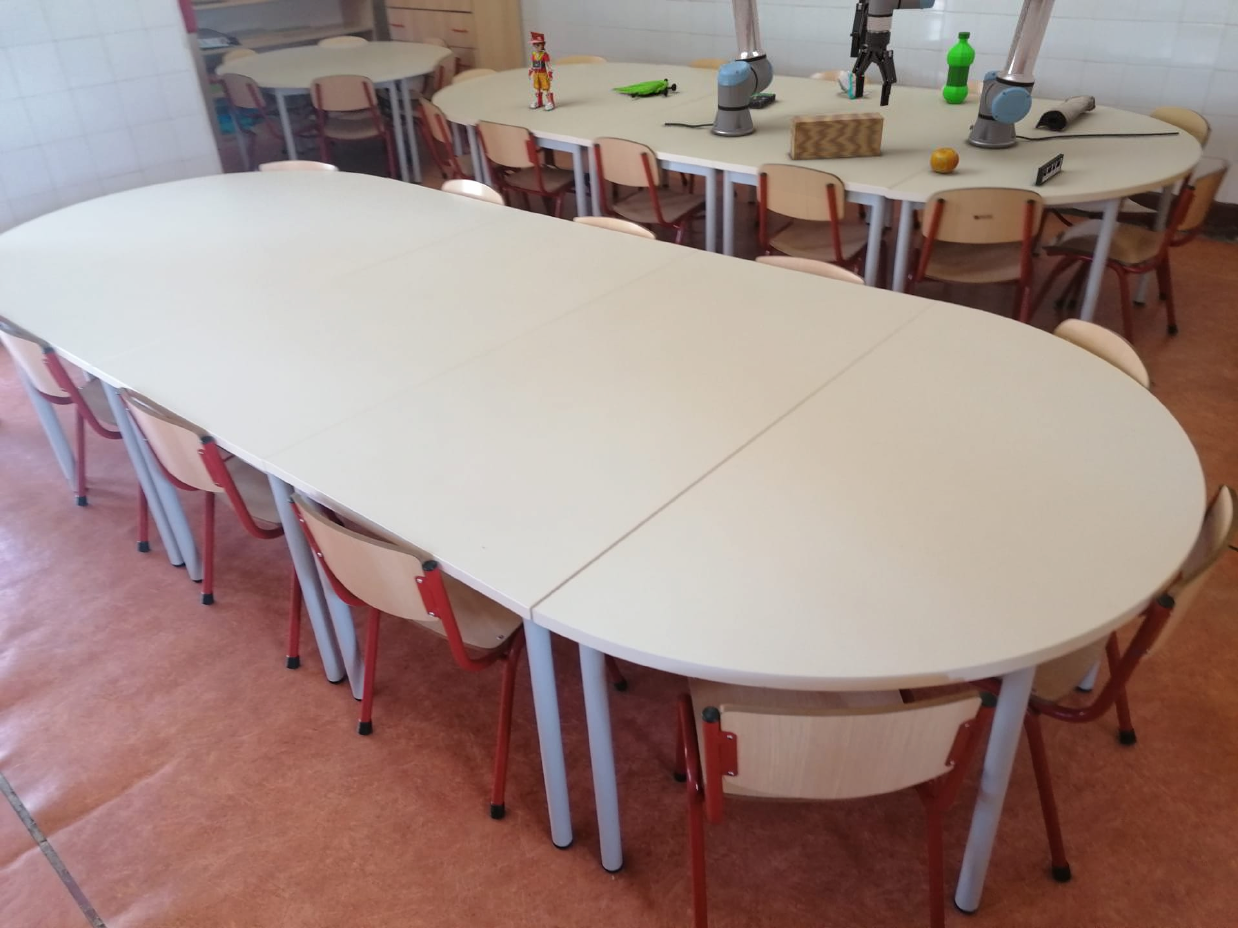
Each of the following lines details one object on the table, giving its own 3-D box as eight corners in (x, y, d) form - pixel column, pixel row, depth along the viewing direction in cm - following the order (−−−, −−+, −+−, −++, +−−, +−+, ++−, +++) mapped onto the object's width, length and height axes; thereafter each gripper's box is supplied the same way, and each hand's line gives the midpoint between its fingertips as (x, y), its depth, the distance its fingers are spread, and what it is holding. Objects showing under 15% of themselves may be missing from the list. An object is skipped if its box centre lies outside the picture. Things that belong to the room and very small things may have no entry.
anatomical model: (833, 70, 374) (857, 63, 373) (835, 95, 380) (859, 89, 379) (843, 78, 362) (868, 71, 361) (846, 104, 367) (870, 97, 367)
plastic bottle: (973, 101, 354) (984, 32, 339) (955, 106, 349) (966, 36, 335) (952, 97, 361) (962, 29, 346) (934, 102, 356) (944, 33, 342)
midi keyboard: (1039, 185, 269) (1043, 168, 266) (1035, 184, 270) (1038, 168, 267) (1060, 170, 279) (1064, 154, 277) (1056, 169, 280) (1060, 153, 277)
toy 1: (525, 109, 381) (517, 32, 364) (534, 104, 388) (527, 28, 371) (550, 110, 377) (543, 32, 360) (559, 105, 384) (553, 28, 367)
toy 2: (686, 85, 398) (631, 84, 414) (685, 72, 395) (629, 72, 411) (651, 104, 381) (596, 103, 397) (650, 92, 378) (594, 91, 394)
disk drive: (760, 109, 361) (775, 100, 371) (761, 102, 360) (776, 93, 370) (737, 107, 366) (752, 98, 376) (737, 100, 364) (753, 91, 374)
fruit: (924, 163, 281) (941, 140, 278) (925, 165, 289) (941, 143, 286) (946, 178, 280) (963, 155, 277) (947, 180, 288) (963, 158, 285)
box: (793, 159, 304) (795, 122, 297) (790, 153, 310) (792, 116, 303) (879, 155, 303) (884, 118, 296) (874, 149, 309) (878, 112, 302)
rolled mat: (1063, 100, 336) (1087, 83, 328) (1076, 121, 336) (1101, 104, 328) (1031, 122, 319) (1056, 104, 310) (1045, 143, 319) (1071, 126, 311)
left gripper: (870, -10, 285) (862, 61, 298) (883, -21, 304) (875, 46, 316) (846, -11, 288) (839, 60, 300) (860, -22, 306) (853, 45, 319)
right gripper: (914, 35, 274) (904, 107, 286) (864, 24, 293) (857, 92, 305) (893, 38, 271) (885, 111, 283) (845, 27, 290) (839, 96, 302)
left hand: (858, 53), depth 308 cm, fingers open, 13 cm apart
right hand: (871, 101), depth 294 cm, fingers open, 13 cm apart
